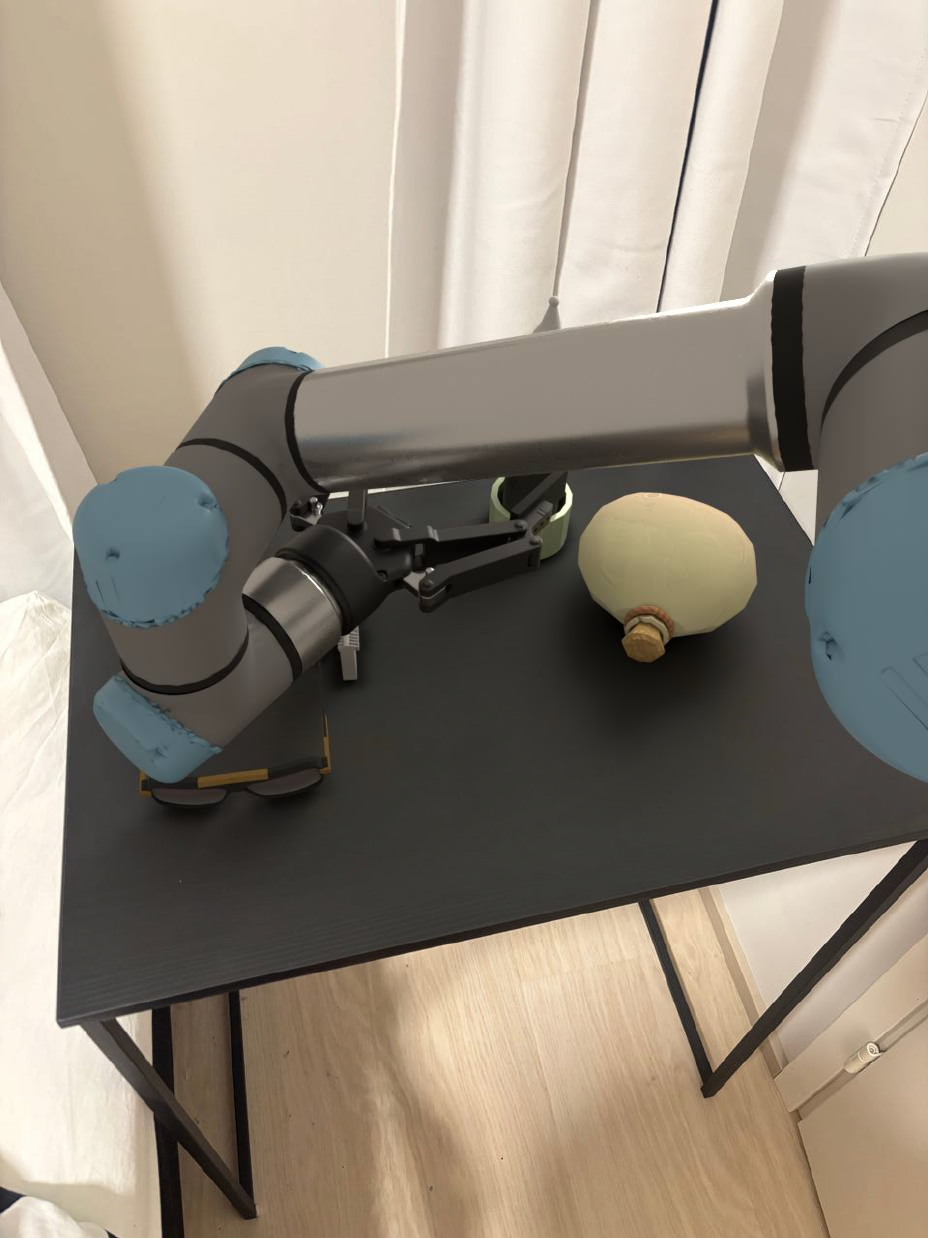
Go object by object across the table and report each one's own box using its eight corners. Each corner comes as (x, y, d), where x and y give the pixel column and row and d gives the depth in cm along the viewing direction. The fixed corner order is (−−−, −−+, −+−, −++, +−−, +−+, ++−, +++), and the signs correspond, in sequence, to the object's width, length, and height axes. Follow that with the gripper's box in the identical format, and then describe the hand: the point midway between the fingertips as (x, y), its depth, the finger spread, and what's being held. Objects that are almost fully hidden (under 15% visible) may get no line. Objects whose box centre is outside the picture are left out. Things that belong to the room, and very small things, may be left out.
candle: (504, 506, 92) (525, 274, 72) (555, 513, 91) (590, 282, 72) (498, 543, 89) (517, 310, 69) (550, 550, 88) (585, 318, 69)
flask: (752, 563, 88) (721, 716, 78) (591, 522, 91) (541, 664, 81) (780, 495, 81) (751, 654, 71) (604, 452, 84) (551, 599, 74)
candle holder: (578, 523, 91) (585, 485, 88) (544, 571, 87) (550, 534, 83) (511, 495, 94) (514, 457, 90) (474, 541, 89) (476, 503, 86)
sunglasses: (321, 647, 81) (316, 610, 77) (335, 802, 71) (329, 769, 67) (157, 665, 79) (143, 629, 75) (149, 827, 70) (132, 795, 66)
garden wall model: (338, 579, 86) (333, 534, 81) (357, 578, 86) (353, 533, 81) (340, 684, 78) (335, 641, 74) (361, 683, 78) (357, 640, 74)
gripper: (194, 551, 71) (378, 417, 82) (448, 724, 62) (616, 547, 73) (174, 477, 65) (374, 344, 76) (450, 657, 56) (633, 475, 67)
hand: (493, 443), depth 74 cm, fingers open, 13 cm apart
